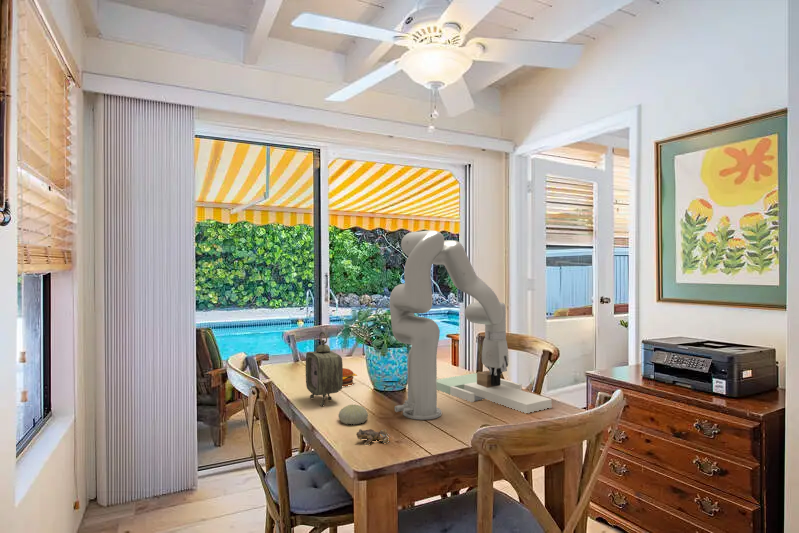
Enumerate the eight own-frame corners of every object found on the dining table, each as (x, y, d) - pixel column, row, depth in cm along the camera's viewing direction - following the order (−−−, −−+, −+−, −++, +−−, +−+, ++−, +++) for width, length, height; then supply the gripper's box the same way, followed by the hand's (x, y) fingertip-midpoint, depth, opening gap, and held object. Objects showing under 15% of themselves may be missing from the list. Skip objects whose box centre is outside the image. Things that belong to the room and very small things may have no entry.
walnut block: (487, 387, 182) (487, 375, 182) (476, 384, 188) (476, 372, 187) (499, 385, 185) (499, 373, 185) (489, 382, 190) (489, 370, 190)
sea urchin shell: (342, 422, 147) (338, 398, 152) (339, 434, 152) (336, 411, 158) (371, 419, 149) (367, 395, 155) (367, 431, 155) (363, 408, 160)
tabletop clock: (305, 398, 179) (305, 330, 179) (329, 395, 184) (328, 328, 184) (319, 408, 167) (319, 335, 166) (344, 404, 171) (343, 333, 171)
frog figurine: (364, 452, 129) (364, 438, 129) (347, 438, 140) (347, 425, 140) (402, 445, 134) (402, 431, 134) (383, 432, 145) (383, 419, 145)
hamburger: (340, 381, 206) (340, 365, 206) (358, 384, 201) (358, 368, 201) (325, 385, 198) (325, 369, 198) (343, 389, 193) (343, 372, 193)
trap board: (512, 417, 157) (512, 407, 157) (431, 387, 194) (431, 380, 194) (564, 404, 170) (564, 396, 170) (479, 379, 207) (479, 372, 207)
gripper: (474, 334, 186) (474, 382, 186) (501, 339, 173) (502, 391, 173) (489, 332, 189) (489, 379, 190) (517, 337, 177) (517, 388, 177)
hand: (495, 385), depth 181 cm, fingers closed
